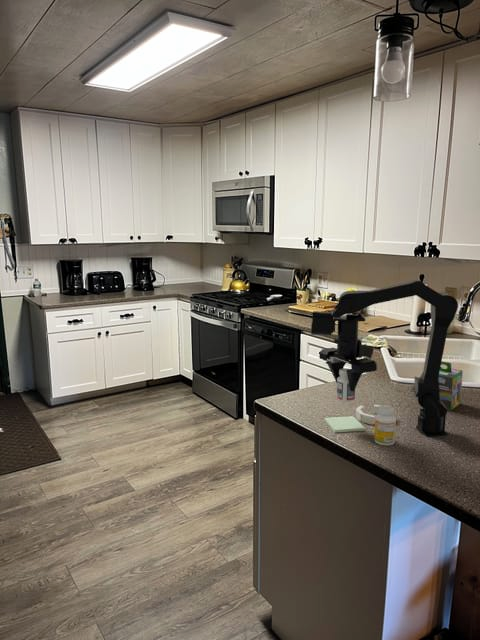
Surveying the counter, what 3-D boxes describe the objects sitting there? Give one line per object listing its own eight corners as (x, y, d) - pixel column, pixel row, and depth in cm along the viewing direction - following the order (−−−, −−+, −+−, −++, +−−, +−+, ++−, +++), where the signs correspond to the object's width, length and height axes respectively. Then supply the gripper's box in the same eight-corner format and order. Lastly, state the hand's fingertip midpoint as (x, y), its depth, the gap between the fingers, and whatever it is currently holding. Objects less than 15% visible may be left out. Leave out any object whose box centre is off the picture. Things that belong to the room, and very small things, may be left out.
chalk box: (461, 404, 158) (464, 360, 155) (451, 411, 151) (454, 366, 149) (433, 397, 164) (436, 355, 161) (422, 404, 158) (425, 361, 155)
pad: (353, 418, 146) (353, 416, 146) (364, 430, 137) (364, 427, 137) (324, 420, 145) (324, 417, 144) (334, 432, 136) (334, 429, 136)
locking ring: (383, 411, 152) (383, 404, 151) (397, 423, 142) (398, 415, 142) (351, 413, 150) (352, 405, 150) (364, 425, 141) (364, 417, 140)
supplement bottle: (379, 435, 134) (380, 402, 132) (398, 441, 130) (399, 407, 128) (370, 442, 130) (372, 408, 128) (390, 447, 126) (392, 412, 124)
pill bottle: (355, 397, 141) (356, 368, 139) (353, 403, 136) (355, 373, 135) (337, 395, 143) (338, 367, 141) (335, 401, 138) (336, 371, 136)
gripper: (392, 338, 132) (390, 393, 134) (347, 327, 148) (346, 376, 151) (362, 343, 126) (359, 399, 129) (318, 331, 143) (317, 381, 146)
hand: (345, 388), depth 139 cm, fingers closed on pill bottle, 5 cm apart
